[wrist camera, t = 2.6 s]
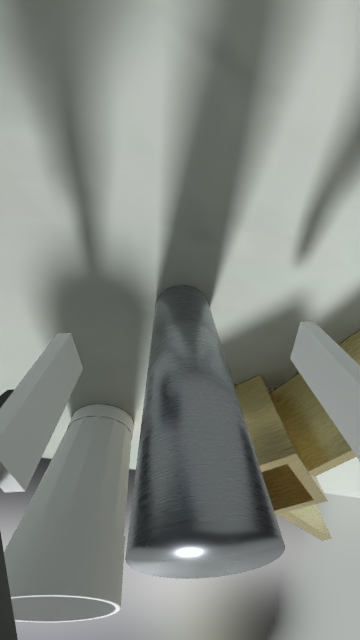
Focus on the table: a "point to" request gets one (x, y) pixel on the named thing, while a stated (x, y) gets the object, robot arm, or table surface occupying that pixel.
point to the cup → (75, 525)
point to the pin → (196, 457)
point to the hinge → (295, 444)
